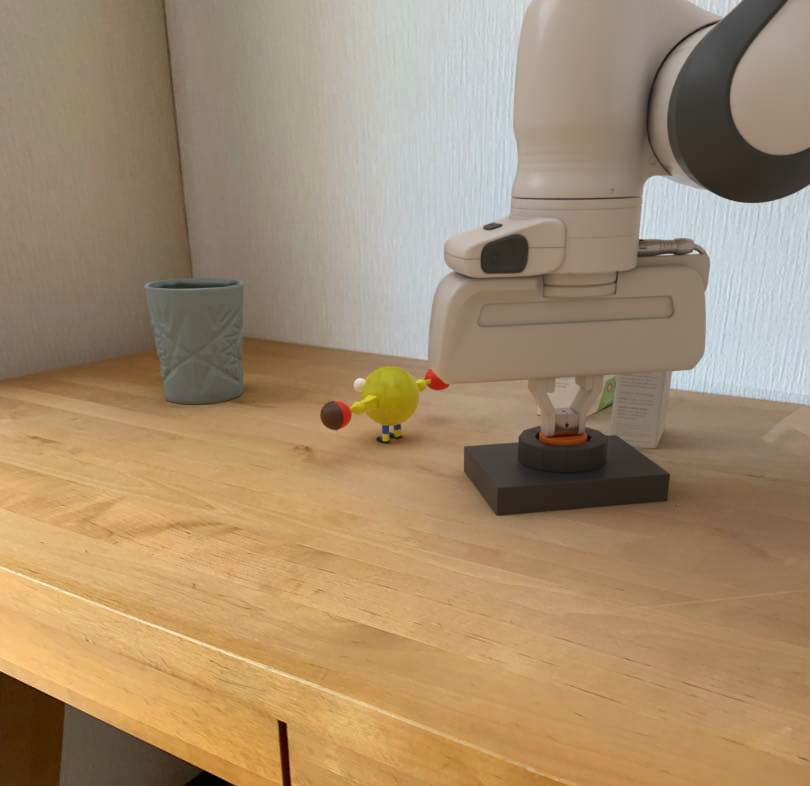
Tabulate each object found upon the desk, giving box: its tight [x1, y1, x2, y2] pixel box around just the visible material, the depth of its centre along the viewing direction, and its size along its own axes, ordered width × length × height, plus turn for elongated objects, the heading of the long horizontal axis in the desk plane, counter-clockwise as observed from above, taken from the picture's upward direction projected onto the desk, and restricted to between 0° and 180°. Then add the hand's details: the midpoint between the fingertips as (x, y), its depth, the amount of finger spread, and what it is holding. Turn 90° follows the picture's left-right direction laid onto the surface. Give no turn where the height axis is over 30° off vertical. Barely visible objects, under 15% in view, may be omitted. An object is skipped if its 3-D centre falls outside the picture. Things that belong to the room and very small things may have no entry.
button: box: [539, 432, 587, 445], centre depth 67 cm, size 4×4×2 cm
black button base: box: [463, 425, 671, 517], centre depth 67 cm, size 13×10×4 cm
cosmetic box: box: [609, 371, 673, 450], centre depth 76 cm, size 6×4×12 cm
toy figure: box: [319, 365, 451, 445], centre depth 79 cm, size 18×6×7 cm, turn 145°
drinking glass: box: [143, 277, 245, 405], centre depth 95 cm, size 10×10×12 cm
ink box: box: [536, 375, 616, 418], centre depth 85 cm, size 9×5×15 cm, turn 144°
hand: (562, 434), depth 66 cm, fingers closed, pressing on button
